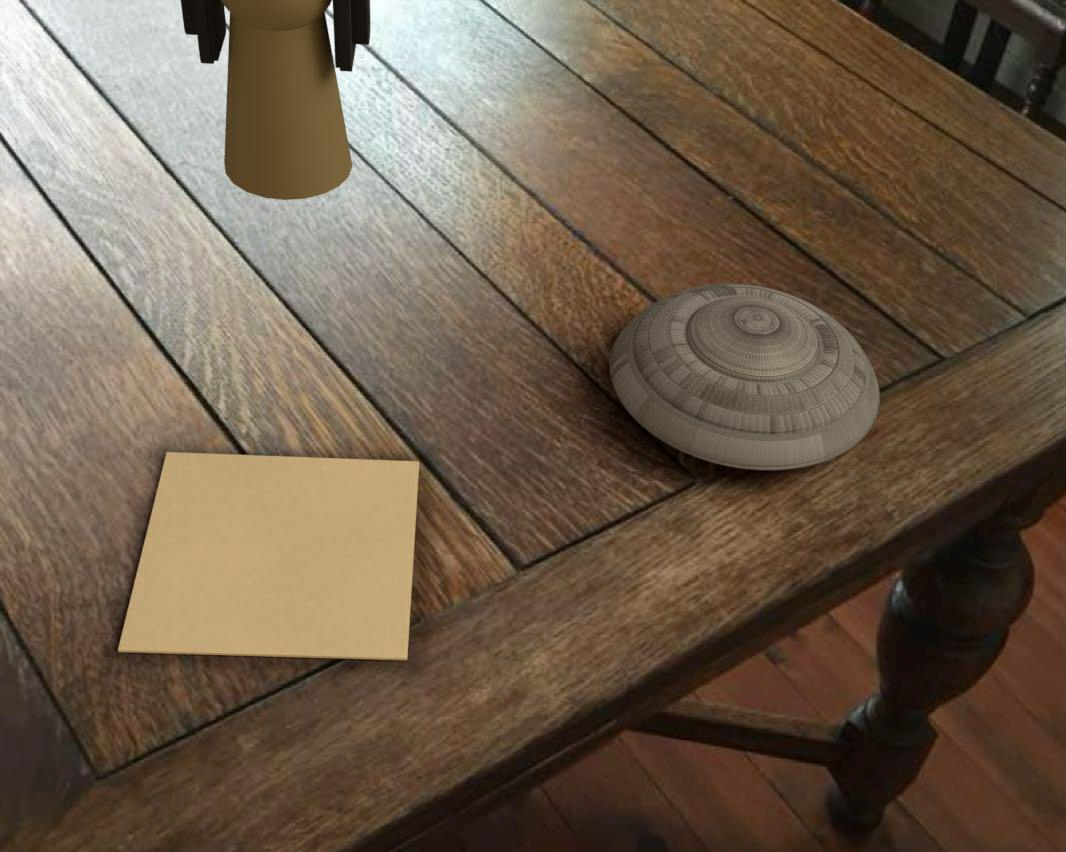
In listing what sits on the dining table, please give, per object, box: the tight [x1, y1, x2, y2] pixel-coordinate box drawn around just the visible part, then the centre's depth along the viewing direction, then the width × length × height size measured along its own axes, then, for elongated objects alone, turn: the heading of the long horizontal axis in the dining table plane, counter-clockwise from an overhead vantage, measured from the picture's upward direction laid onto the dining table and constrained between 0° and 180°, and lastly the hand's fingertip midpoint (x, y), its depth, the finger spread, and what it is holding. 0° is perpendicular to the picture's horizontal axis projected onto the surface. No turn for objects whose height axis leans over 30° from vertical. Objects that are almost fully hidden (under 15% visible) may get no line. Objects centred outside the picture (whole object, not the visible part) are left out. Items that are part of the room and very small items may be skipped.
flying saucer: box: [609, 283, 881, 471], centre depth 74 cm, size 15×15×6 cm
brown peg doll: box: [220, 0, 353, 201], centre depth 61 cm, size 6×6×11 cm
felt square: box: [117, 451, 420, 661], centre depth 66 cm, size 13×13×1 cm
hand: (280, 49), depth 61 cm, fingers closed on brown peg doll, 5 cm apart
